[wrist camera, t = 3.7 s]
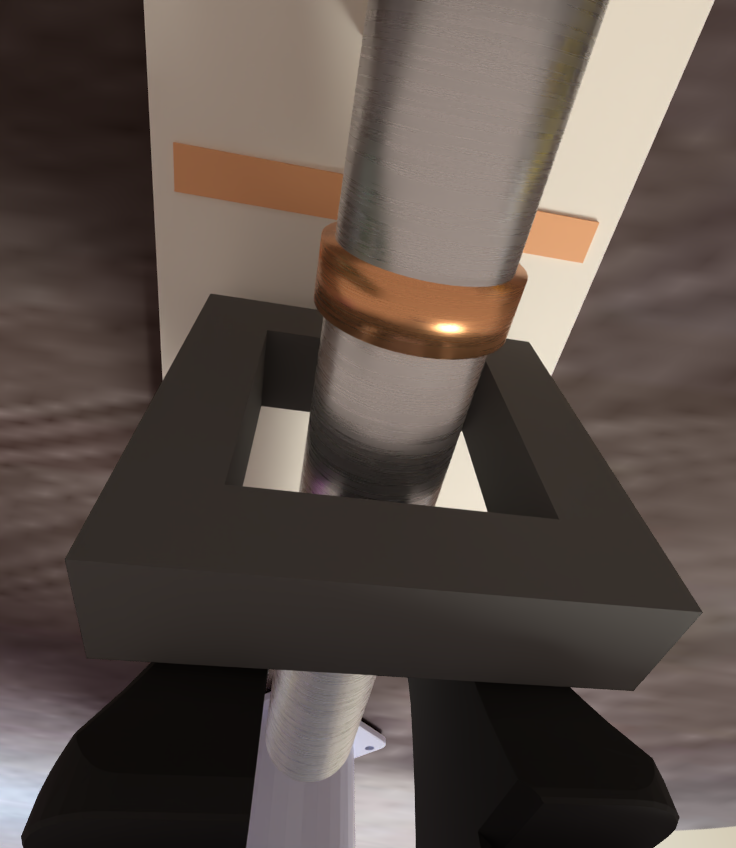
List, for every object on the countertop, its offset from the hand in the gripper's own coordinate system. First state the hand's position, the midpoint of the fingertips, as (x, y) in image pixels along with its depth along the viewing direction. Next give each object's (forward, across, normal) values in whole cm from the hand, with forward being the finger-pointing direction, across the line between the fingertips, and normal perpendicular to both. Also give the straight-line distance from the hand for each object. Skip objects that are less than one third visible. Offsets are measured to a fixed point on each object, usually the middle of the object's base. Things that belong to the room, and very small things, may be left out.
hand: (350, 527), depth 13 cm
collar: (+3, 0, -3) cm, 4 cm away
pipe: (0, 0, -2) cm, 2 cm away
